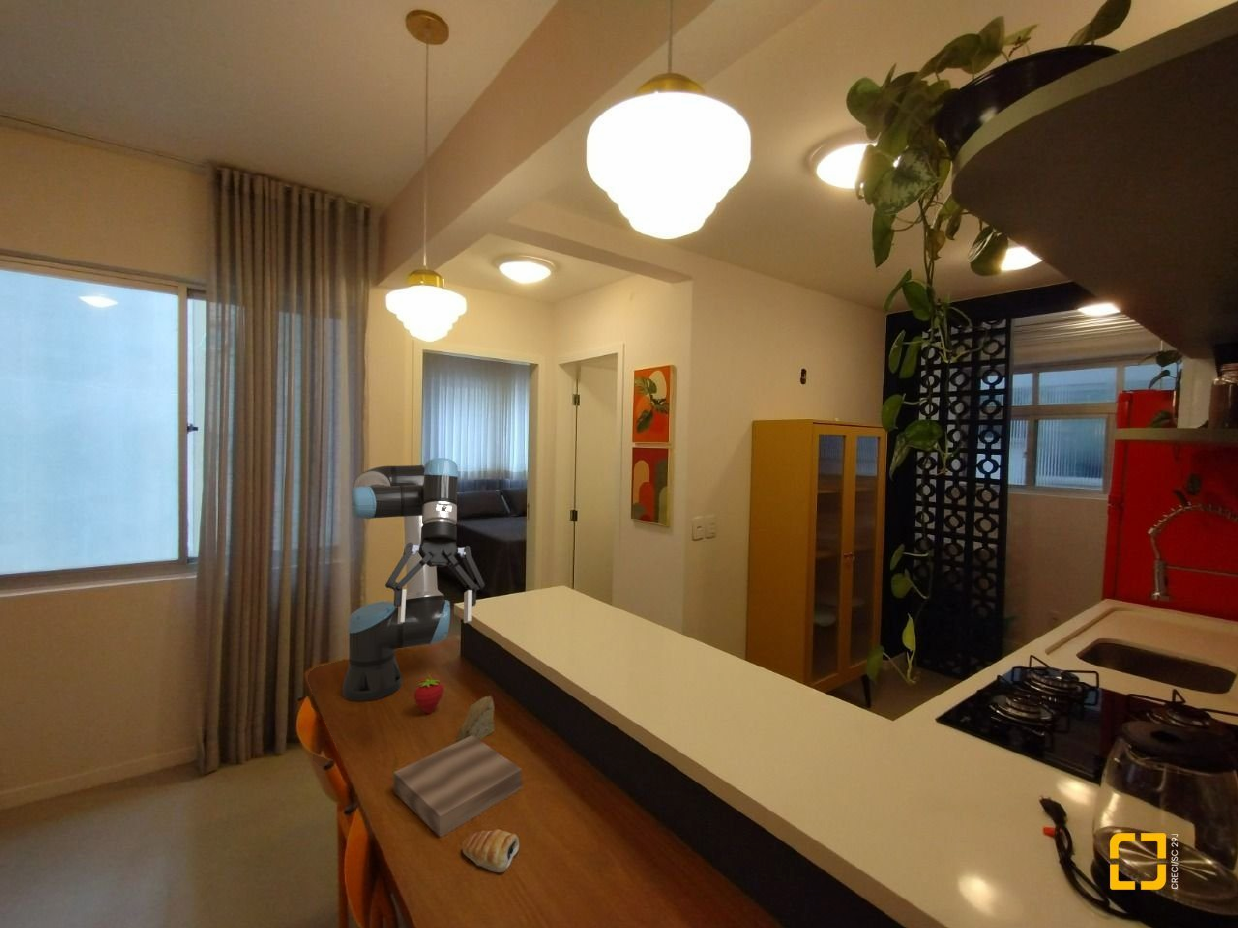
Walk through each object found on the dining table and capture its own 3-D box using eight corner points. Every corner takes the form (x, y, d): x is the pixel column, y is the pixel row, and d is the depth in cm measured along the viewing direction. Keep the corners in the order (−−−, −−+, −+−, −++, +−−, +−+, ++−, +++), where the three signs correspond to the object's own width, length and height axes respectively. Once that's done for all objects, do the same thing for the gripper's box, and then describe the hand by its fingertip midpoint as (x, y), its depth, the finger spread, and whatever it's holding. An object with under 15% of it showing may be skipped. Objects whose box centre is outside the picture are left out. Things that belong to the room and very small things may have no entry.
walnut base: (393, 791, 105) (393, 772, 105) (472, 752, 119) (472, 735, 118) (440, 837, 93) (440, 815, 93) (521, 788, 107) (521, 769, 106)
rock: (457, 747, 116) (501, 730, 121) (449, 707, 120) (492, 693, 125) (455, 753, 125) (496, 738, 129) (447, 716, 129) (488, 702, 133)
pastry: (453, 864, 88) (453, 842, 88) (475, 835, 94) (475, 814, 94) (504, 877, 85) (504, 854, 85) (522, 846, 92) (523, 825, 92)
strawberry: (409, 714, 135) (409, 676, 134) (437, 703, 140) (436, 667, 140) (420, 722, 131) (420, 683, 130) (448, 711, 136) (448, 673, 136)
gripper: (383, 514, 108) (374, 620, 100) (498, 524, 122) (499, 618, 113) (375, 525, 114) (366, 626, 105) (486, 533, 127) (486, 624, 119)
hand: (435, 622), depth 109 cm, fingers open, 13 cm apart
